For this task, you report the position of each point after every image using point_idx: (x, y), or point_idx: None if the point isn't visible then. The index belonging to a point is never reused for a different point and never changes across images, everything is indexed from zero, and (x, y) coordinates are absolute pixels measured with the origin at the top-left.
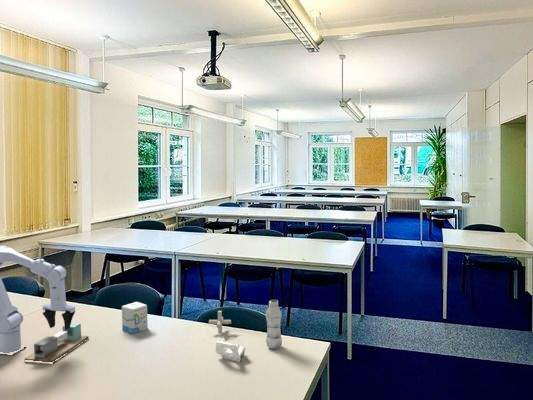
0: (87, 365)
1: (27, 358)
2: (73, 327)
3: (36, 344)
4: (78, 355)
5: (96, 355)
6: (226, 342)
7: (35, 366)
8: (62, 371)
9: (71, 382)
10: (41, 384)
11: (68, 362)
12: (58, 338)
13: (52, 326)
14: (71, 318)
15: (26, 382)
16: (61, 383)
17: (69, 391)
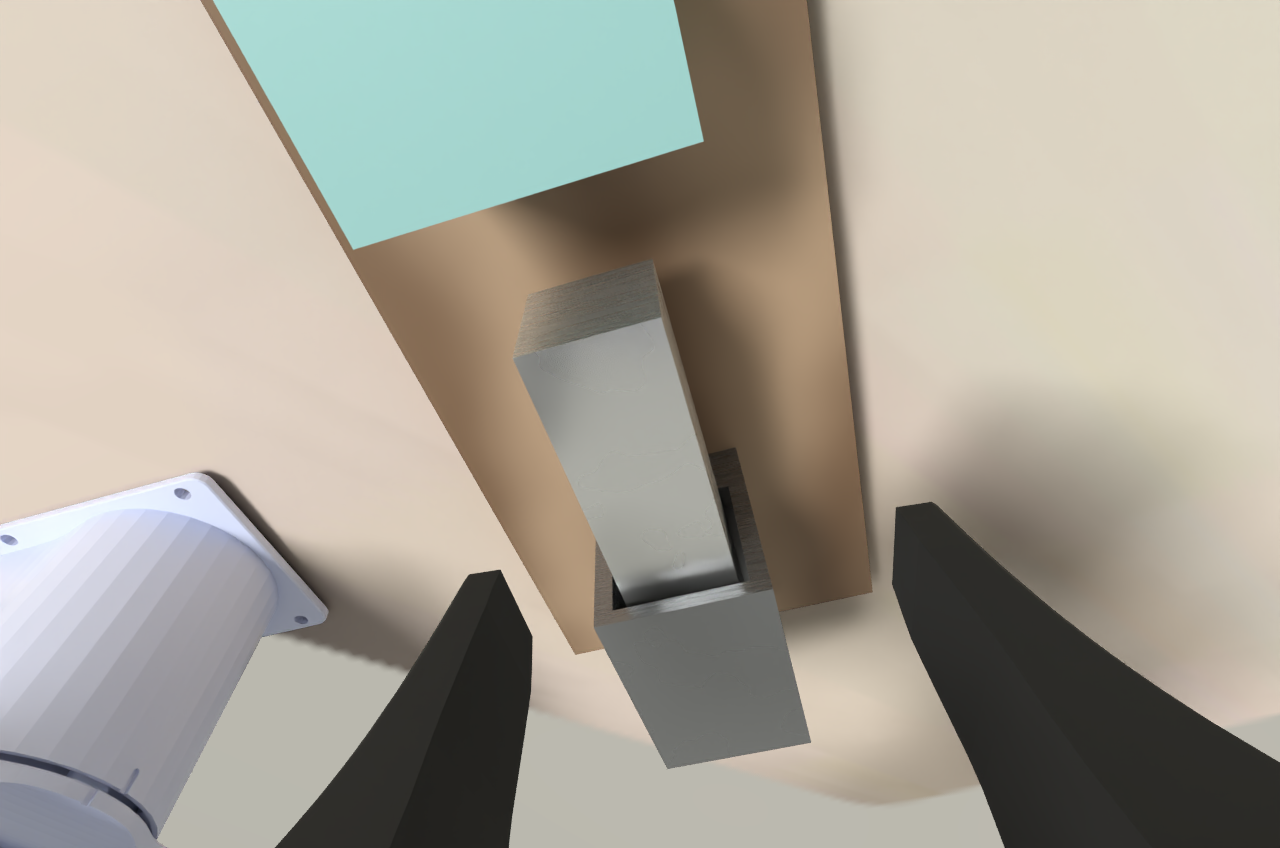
0: (1252, 449)
1: (602, 646)
2: (668, 146)
3: (703, 759)
4: (1010, 342)
5: (1272, 243)
6: None
7: None
8: (1051, 589)
9: (1228, 642)
10: None
11: (999, 485)
12: (718, 504)
13: (517, 629)
14: (1131, 699)
15: (886, 733)
16: (1153, 669)
17: (1268, 694)
